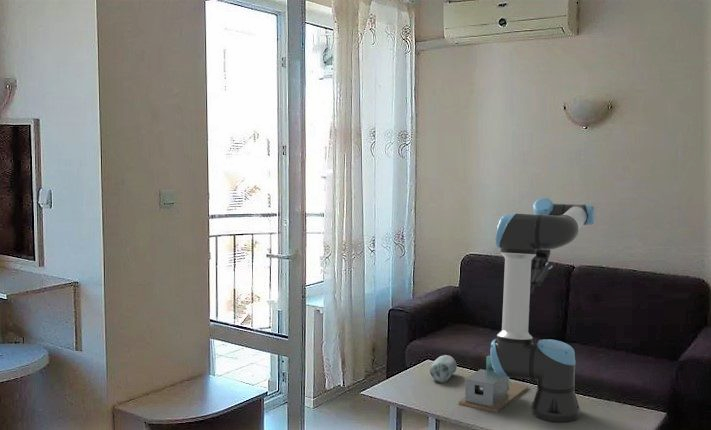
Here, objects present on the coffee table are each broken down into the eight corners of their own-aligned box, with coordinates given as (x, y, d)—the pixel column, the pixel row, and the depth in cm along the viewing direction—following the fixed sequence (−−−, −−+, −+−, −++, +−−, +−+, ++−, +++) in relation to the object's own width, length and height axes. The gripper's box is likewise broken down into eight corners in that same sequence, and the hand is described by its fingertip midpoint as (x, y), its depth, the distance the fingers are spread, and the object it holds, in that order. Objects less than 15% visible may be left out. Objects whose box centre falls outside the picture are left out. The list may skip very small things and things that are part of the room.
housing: (491, 381, 259) (491, 357, 258) (528, 388, 251) (528, 364, 250) (458, 404, 237) (458, 378, 236) (497, 412, 229) (497, 386, 228)
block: (488, 385, 249) (488, 355, 248) (509, 389, 245) (509, 359, 243) (470, 398, 237) (470, 366, 236) (491, 402, 233) (492, 370, 232)
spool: (451, 378, 254) (442, 351, 257) (429, 386, 258) (420, 360, 261) (466, 376, 265) (457, 351, 269) (444, 384, 269) (436, 359, 273)
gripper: (559, 256, 270) (544, 307, 258) (527, 253, 277) (510, 303, 265) (555, 244, 265) (539, 295, 253) (522, 241, 272) (505, 291, 260)
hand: (524, 299), depth 259 cm, fingers closed
